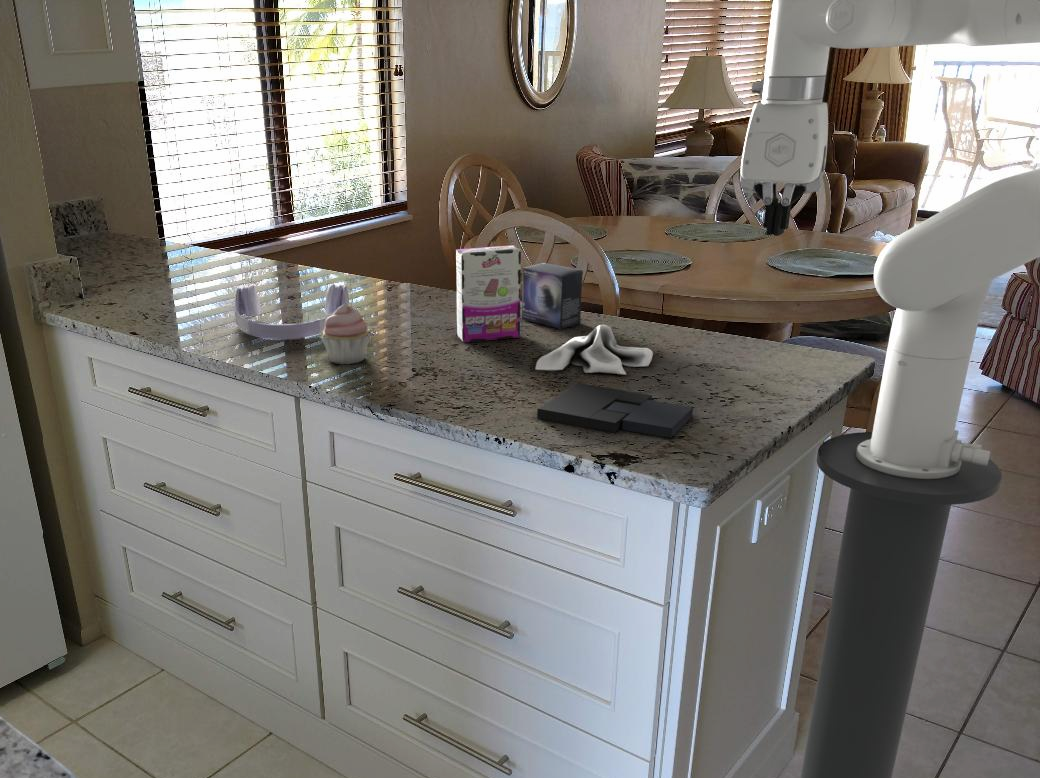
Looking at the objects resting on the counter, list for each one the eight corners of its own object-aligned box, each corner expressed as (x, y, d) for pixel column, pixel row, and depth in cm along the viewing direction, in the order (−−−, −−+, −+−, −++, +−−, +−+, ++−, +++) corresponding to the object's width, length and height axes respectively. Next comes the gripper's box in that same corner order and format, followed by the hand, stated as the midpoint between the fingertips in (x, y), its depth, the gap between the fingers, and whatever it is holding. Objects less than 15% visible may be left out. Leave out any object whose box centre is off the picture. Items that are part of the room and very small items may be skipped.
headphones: (243, 313, 206) (224, 345, 188) (239, 279, 202) (220, 309, 185) (350, 312, 205) (341, 344, 187) (348, 278, 201) (339, 308, 184)
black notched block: (651, 404, 148) (652, 395, 148) (614, 433, 138) (615, 422, 137) (577, 391, 155) (578, 382, 154) (536, 418, 144) (537, 408, 143)
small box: (518, 319, 196) (520, 266, 192) (541, 314, 200) (543, 261, 196) (559, 329, 189) (561, 274, 185) (581, 323, 193) (584, 269, 188)
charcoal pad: (692, 416, 143) (693, 406, 142) (670, 438, 135) (671, 428, 135) (621, 405, 148) (622, 395, 148) (596, 425, 141) (597, 415, 140)
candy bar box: (512, 331, 188) (514, 244, 182) (520, 338, 184) (522, 249, 177) (455, 336, 186) (455, 248, 180) (461, 343, 182) (462, 252, 175)
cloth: (589, 337, 183) (591, 304, 181) (676, 357, 170) (679, 322, 168) (509, 363, 170) (509, 327, 167) (597, 386, 157) (599, 348, 154)
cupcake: (335, 370, 168) (332, 312, 164) (311, 358, 175) (308, 302, 171) (383, 361, 172) (381, 304, 168) (358, 349, 179) (355, 294, 175)
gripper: (726, 92, 131) (712, 234, 138) (847, 93, 123) (825, 242, 130) (743, 90, 136) (729, 226, 144) (859, 90, 128) (838, 234, 136)
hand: (774, 233), depth 137 cm, fingers closed
